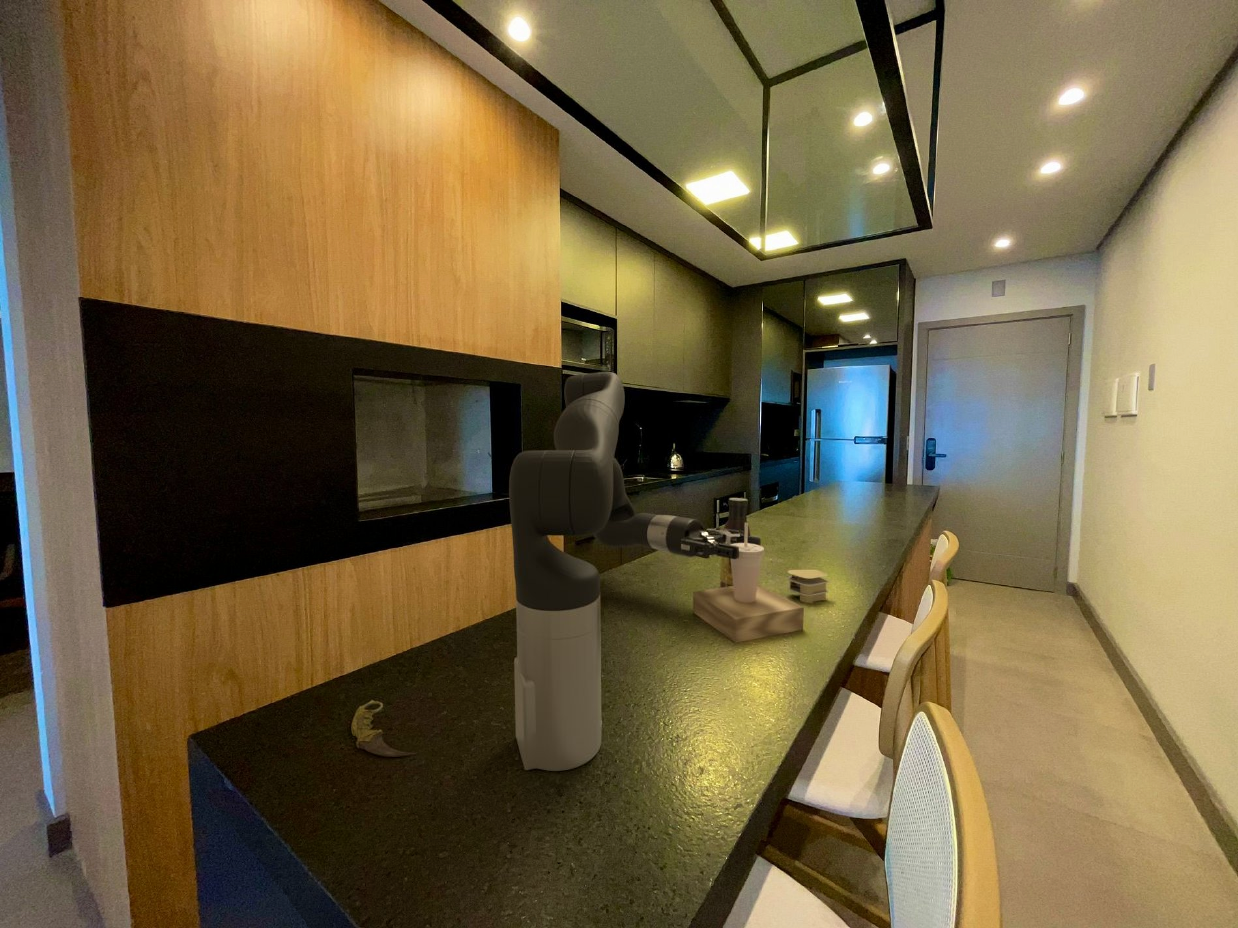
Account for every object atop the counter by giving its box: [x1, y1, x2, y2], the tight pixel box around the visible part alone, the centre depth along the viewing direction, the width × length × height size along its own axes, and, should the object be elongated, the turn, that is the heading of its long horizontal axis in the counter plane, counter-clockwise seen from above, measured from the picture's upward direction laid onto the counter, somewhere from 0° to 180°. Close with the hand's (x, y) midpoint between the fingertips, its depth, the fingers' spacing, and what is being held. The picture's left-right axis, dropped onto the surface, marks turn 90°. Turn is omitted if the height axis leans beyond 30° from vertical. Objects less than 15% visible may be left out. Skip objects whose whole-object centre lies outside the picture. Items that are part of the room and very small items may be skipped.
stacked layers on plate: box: [787, 569, 829, 604], centre depth 99 cm, size 10×9×6 cm
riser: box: [692, 584, 805, 644], centre depth 88 cm, size 14×14×4 cm
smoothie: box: [731, 522, 765, 603], centre depth 87 cm, size 6×6×14 cm
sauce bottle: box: [719, 497, 752, 588], centre depth 104 cm, size 6×6×20 cm
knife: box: [350, 699, 423, 758], centre depth 57 cm, size 14×1×5 cm
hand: (749, 548), depth 87 cm, fingers open, 8 cm apart
